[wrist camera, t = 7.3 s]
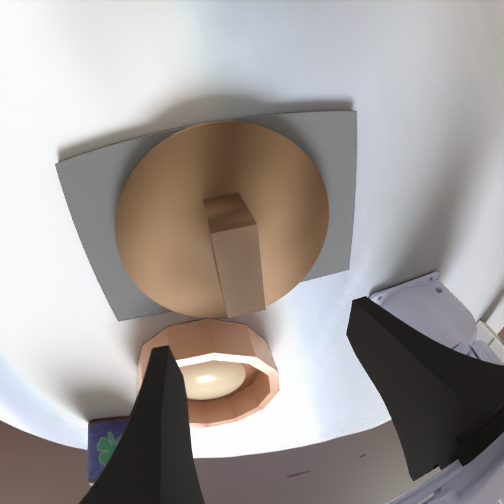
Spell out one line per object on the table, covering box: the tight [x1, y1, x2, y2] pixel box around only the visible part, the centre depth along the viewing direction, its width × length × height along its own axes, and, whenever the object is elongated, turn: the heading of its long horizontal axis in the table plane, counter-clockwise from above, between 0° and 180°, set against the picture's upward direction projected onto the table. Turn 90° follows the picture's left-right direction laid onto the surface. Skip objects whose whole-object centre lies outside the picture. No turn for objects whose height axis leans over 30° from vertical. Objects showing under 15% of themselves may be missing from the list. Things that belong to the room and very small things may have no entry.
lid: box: [115, 120, 329, 319], centre depth 16 cm, size 13×13×5 cm
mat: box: [55, 110, 357, 321], centre depth 18 cm, size 18×12×1 cm, turn 95°
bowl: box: [137, 318, 279, 427], centre depth 24 cm, size 12×12×4 cm
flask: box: [87, 416, 130, 486], centre depth 24 cm, size 9×3×11 cm, turn 96°
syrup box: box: [476, 320, 504, 364], centre depth 35 cm, size 6×6×14 cm
